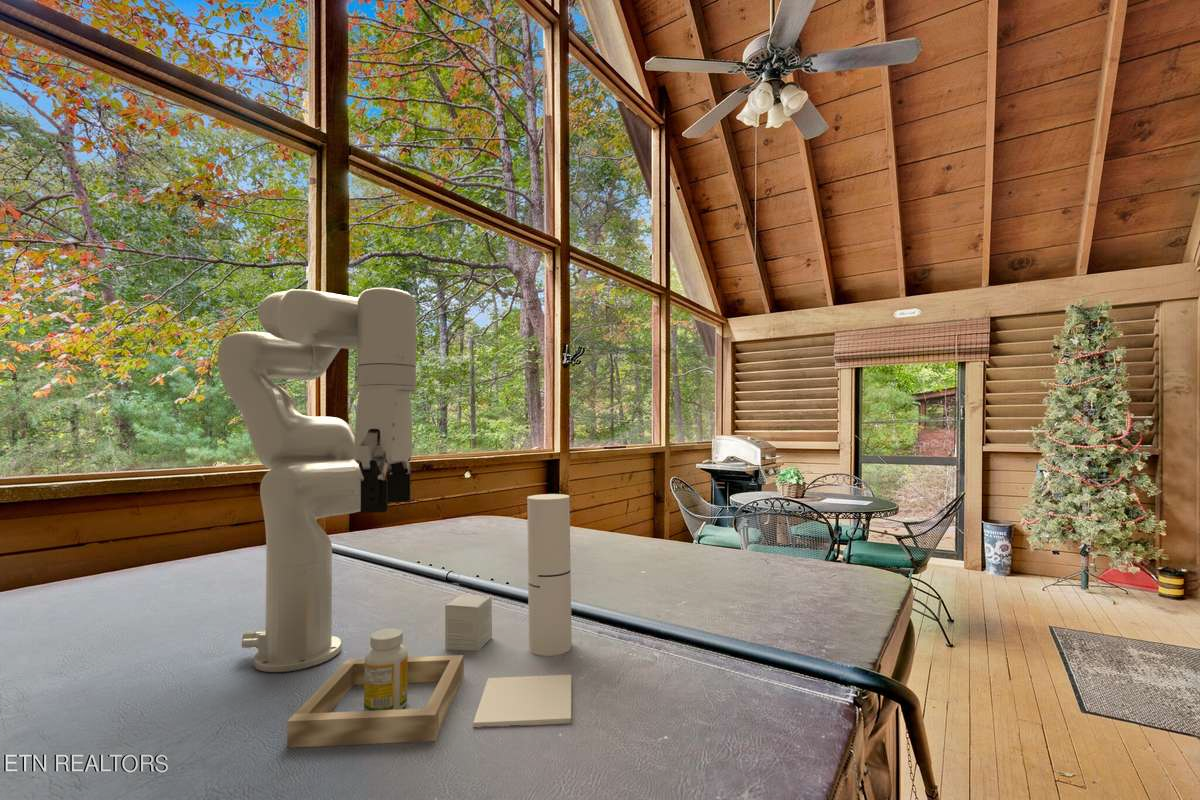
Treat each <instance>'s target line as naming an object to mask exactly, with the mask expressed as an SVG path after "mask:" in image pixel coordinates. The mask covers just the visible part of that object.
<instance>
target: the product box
mask: <svg viewBox="0 0 1200 800" xmlns="http://www.w3.org/2000/svg"><path fill="white" fill-rule="evenodd" d="M492 601H493V600H492V595H477V594H474V595H471V594H460V595H459V596H457V597H455V598H454V599H453V600H451V601H449V602H448V603H447V604H444V605H445V607H444V608H445V611H444V613H445V615H444V618H445V622H444V623H445V624H444V625H445V629H444V630H445V631H444V632H445V633H444V635H445V637H444V638H445V639H444V647H445V649H446V650H454V651H469V652H479V651H480V650H481V649H482V648H483V647H484V646H485V645H486V643H487V642H489V641H490V640H491V639H492V637H493V622H492V621H493V617H492V615H493V614H492V613H493V609H492Z"/></svg>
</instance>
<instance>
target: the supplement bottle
mask: <svg viewBox="0 0 1200 800" xmlns="http://www.w3.org/2000/svg"><path fill="white" fill-rule="evenodd" d="M403 635H404V633H403V630H401V629H399V628H396V627H395V628H390V627H389V628H384V629H379V630H377V631H374V632H373V633H371V635H370V642H369V644H370V648H371V649H370V650H368V652H367V653H366V655H365V658H364V659H365V683H364V686H363V687H364V690H363V691H364V695H363V696H364V697H363V698H364V700H363V709H364V710H363V711H376V710H399V709H405V706H406V705H407V702H408V683H407V667H408V657H409V656H408V654H409V653H408V649H407V647H406V646H404V645H402V644H403V640H404V638H403V637H404V636H403Z"/></svg>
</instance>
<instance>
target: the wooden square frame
mask: <svg viewBox="0 0 1200 800" xmlns="http://www.w3.org/2000/svg"><path fill="white" fill-rule="evenodd" d="M464 657H465V655H463V654H460V655H458V654H457V655H455V654H453V655H434V656H433V655H432V656H431V655H430V656H429V655H428V656H408V667H407V684H411V683H431V682H432V683H434V682H436V683H437V682H438V683H437V685H436V686H435V689H434V691H433V692H432V694H431V696H430V698H429V700H428V702H427V704H426V706H425V708H424V707H423V708H403V709H399V710H376V711H365V710H358V711H357V710H356V711H335V712H334V711H333V710H334V709H335V708H336V706H337V705H338V704H339V703H340V702H341V701H342V700H343V698H344V697H345V696H347V693H349V691H350V690H351V689H352V688H353V687H354V686H362V685H364V683H365V658H355V659H353V658H351V659H346V660H345V661H344V662H343V663H342V664H341V665H340V666H339V667H338V668H337V670H336V671H334V672H333V674H331V676H329V678H327V680H326V681H325V682H324V683H323V684H322V685H321V686H320V687H319V688H318V689H317V690H316V691H315V692H314V693H313V694H312V695H311V696H310V697H309V698H308V699H307V700H306V701H305V702H304V703H303V704H302V706H301V707H300V708H298V709H297V711H296V712H294V713H293V715H292V716H290V718H289V719H288V720H287V721H286V723H287V724H286V730H287V731H286V748H287V749H288V748H308V747H309V748H310V747H331V746H350V745H351V746H353V745H354V746H355V745H372V744H373V745H375V744H376V745H377V743H378V744H394V743H397V744H398V743H417V742H418V743H421V742H436V741H437V738H438V737H439V736H438V735H439V734H440V733H439V732H440V730H441V728H442V726H443V724H444V722H445V720H444V719H446V717H447V714H448V712H449V710H450V708H451V707H452V706H451V705H452V704H453V701H454V699H455V697H456V694H457V692H458V690H457V689H459V688H458V687H460V685H461V683H462V681H461V680H463V678H464V676H465V675H464V674H465V672H464V671H465V667H464V665H465V662H464V661H465V659H464ZM332 711H333V712H332Z"/></svg>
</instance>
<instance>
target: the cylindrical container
mask: <svg viewBox="0 0 1200 800" xmlns="http://www.w3.org/2000/svg"><path fill="white" fill-rule="evenodd" d="M526 501H527V507H526V508H527V579H528V580H527V583H528V585H527V587H528V588H527V591H528V598H527V599H528V603H527V604H528V605H527V606H528V607H527V608H528V650H529V652H530V653H532V654H534V655H537V656H542V657H550V656H559V655H563V654H566V653H567V652H569V651H570V650H571V649H572V647H573V646H572V645H573V644H572V641H573V640H572V639H573V636H572V634H573V633H572V583H571V581H572V578H571V577H572V576H571V575H572V574H571V570H572V568H571V565H572V564H571V515H570V514H571V513H570V512H571V510H570V509H571V508H570V507H571V506H570V505H571V504H570V503H571V501H570V495H568V494H563V493H560V494H559V493H546V494H545V493H544V494H542V493H541V494H534V495H529V496H527V498H526Z"/></svg>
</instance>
